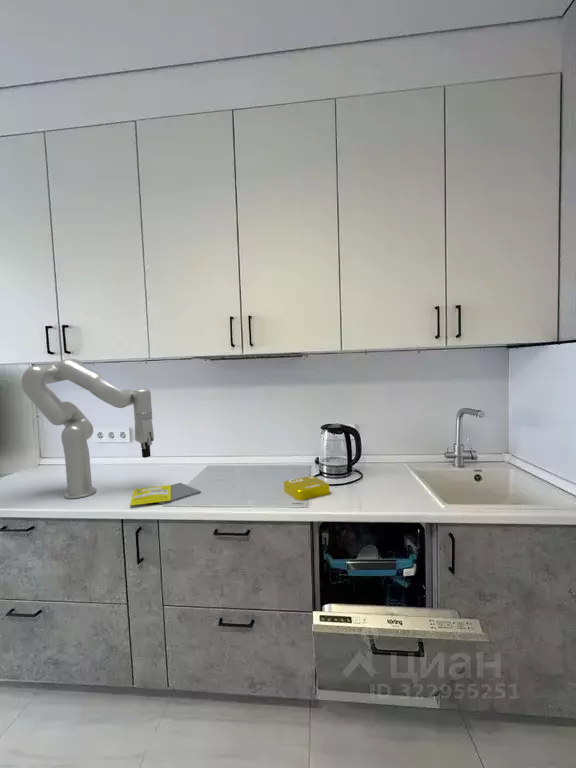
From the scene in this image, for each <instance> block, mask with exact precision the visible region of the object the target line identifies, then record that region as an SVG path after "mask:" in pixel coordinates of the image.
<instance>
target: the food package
mask: <svg viewBox="0 0 576 768" xmlns="http://www.w3.org/2000/svg"><path fill="white" fill-rule="evenodd" d="M171 485H172V484H168V485H159V486H149V487H142V488H134V490H133V492H132V497H131V499H130V503H129V506H137V505H145V504H153V503H156V502H162V501H169V500H171Z"/></svg>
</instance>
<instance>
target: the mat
mask: <svg viewBox="0 0 576 768" xmlns="http://www.w3.org/2000/svg"><path fill="white" fill-rule="evenodd" d="M170 485H171V500H169V501H162V502H155V503H157V504H159V505H160V506H163V505H166V504H169V502H170V503H173V502H175V500H176V501H179V500H182V499H181V498H183V499H185V498H184V497H186V498H188V497H187V496H189V497H192V496H191V495H193V496H195V495H194V494H196V495H199V494H201V493H202V490H199V489H196V488H194V487H191V486H189V485H187V484H185V483H182V482H178V483H175V484H170ZM198 493H199V494H198ZM178 499H179V500H178ZM172 501H173V502H172Z"/></svg>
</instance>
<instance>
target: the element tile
mask: <svg viewBox="0 0 576 768" xmlns="http://www.w3.org/2000/svg"><path fill="white" fill-rule="evenodd" d="M283 491H284V493H285V494H286V495H289V496H290V497H291V498H293V499H295V500H297V501H300V502H301V501H306V500H312V499H315V498H319V497H324V496H328V495H330V493H331V492H330V484H329V483H328V482H326V481H325V480H322V479H320V478H318V477H317V476H315V475H309V476H304V477H299V478H292V479H289V480H288V479H287V480H285V481H284V482H283Z"/></svg>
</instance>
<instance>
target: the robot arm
mask: <svg viewBox="0 0 576 768" xmlns="http://www.w3.org/2000/svg"><path fill="white" fill-rule="evenodd" d="M62 381H63V382H64V381H69V382H71V383H73V384H74V385H77V386H78V387H81V388H83V389H84V390H86V391H88V392H89V393H90V394H92V395H93V396H95V397H96V398H98V399H99V400H101V401H103V402H105V403H106V404H109V405H110V406H112V407H115V408H118V409H123V408H126V407H129V406H131V405H132V406H133V413H134V414H133V417H134V440H135V441H136V442H137V443H139V444H140V448H141V457H142V458H144V459H146V458H150V457H151V456H152V455H151V446H152V445H153V443H152V442H154V438H155V437H154V436H155V435H154V426H153V406H152V394H151V390H150V389H149V388H138V389H131V388H130V389H126V388H124V389H119V388H117V387H115V386H113V385H112V384H110V383H108V382H107V381H106V380H105V379H104V378H103V376H102V375H101V374H100V373H99V372H96V371H95V370H93V369H91V368H89V367H87V366H85V364H84V363H83V361H81V360H79V359H76V358H65V359H62V360H61V361H58V362H53V363H48V364H36V365H31V366H30V367H28V368H27V369H26V370H25V371H24V372H23V373H22V377H21V382H20V383H21V388H22V390H23V392H24V394H25V395H26V396H27V398H28V399H30V401H31V402H32V403H33V404H34V406H35V407H36V408H37V409H38V410H39V411H40V413H41V414H42V415H43V417H45V418H46V420H47V421H49V423H51V424H52V425H53V426H62V425H63V426H64V428H63V429H62V432H61V443H62V444H61V445H62V448H63V454H64V461H65V462H64V463H65V474H66V475H65V476H66V485H67V491H65V492H64V493H63V496H64V499H67V500H69V499H71V500H72V499H73V500H74V499H81V498H86V497H88V496H89V497H90V496H91V495H93V494H95V493H96V492H97V488H96V487H94V486H93V484H92V470H91V469H92V468H91V458H90V450H89V445H88V441H87V440H89V439H90V438H91V437H92V436H93V435H94V427H93V424H92V423H91V421H90V420H89V419H88V417H86V416H85V414H84V413H83V412H82V411H81V409H79V407H78V406H77V405H75V403H72V402H70V401H62V400H61V399H60V398H59V397H57V394H55V392H53V390H51V389H50V388H49V387H47V384H49V385H50V384H54V383H58V382H62Z"/></svg>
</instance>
